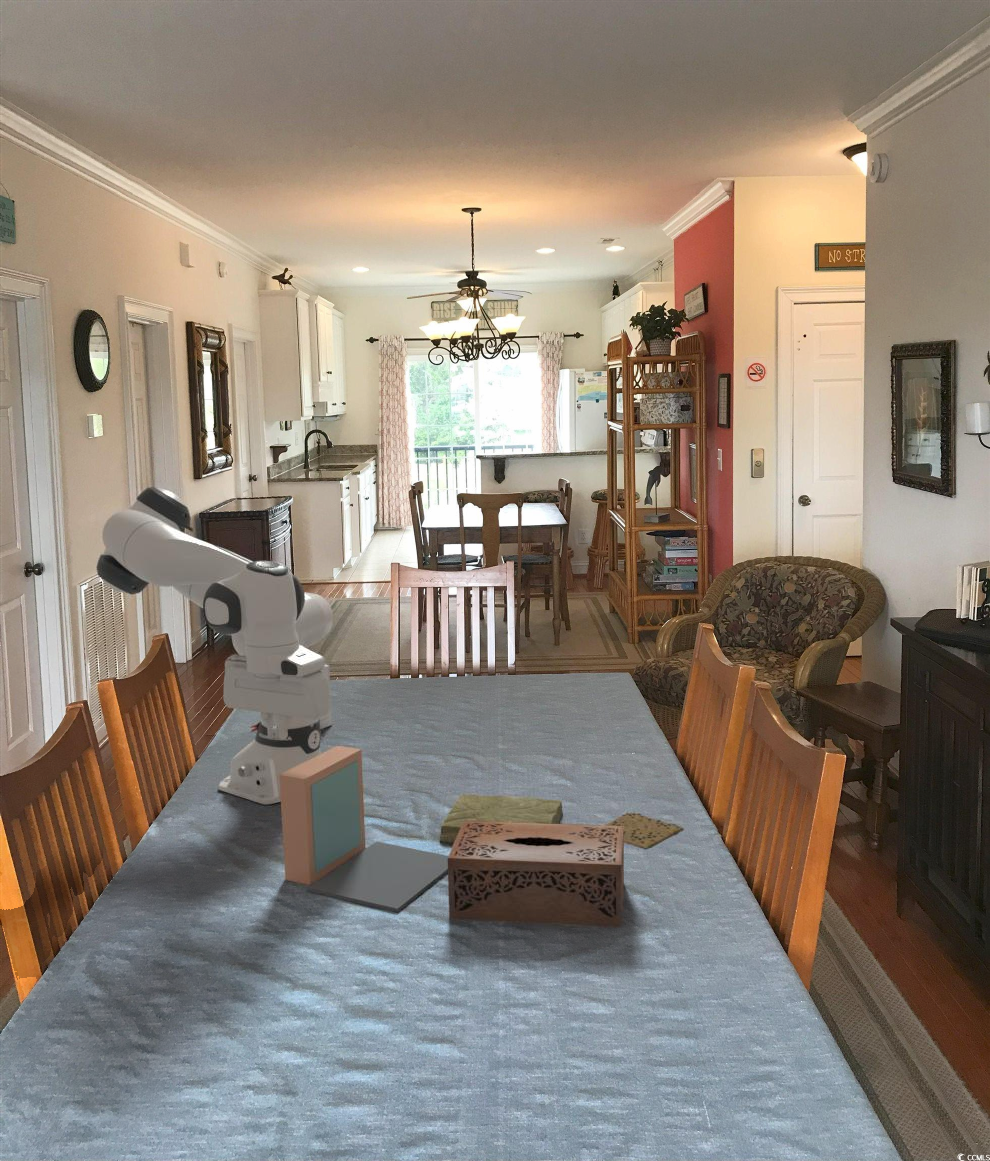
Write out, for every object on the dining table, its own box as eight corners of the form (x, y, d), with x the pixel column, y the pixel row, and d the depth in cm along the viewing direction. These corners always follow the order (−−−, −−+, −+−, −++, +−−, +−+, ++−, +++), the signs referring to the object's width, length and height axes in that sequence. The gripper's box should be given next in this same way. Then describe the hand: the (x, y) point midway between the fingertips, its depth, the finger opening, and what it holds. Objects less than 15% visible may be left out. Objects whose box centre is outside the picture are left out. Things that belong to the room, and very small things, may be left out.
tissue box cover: (449, 920, 164) (447, 858, 162) (465, 878, 178) (463, 820, 176) (621, 928, 160) (621, 865, 159) (623, 885, 174) (623, 826, 173)
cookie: (590, 834, 195) (590, 829, 195) (631, 814, 204) (631, 809, 204) (645, 852, 187) (645, 846, 187) (685, 830, 196) (685, 825, 195)
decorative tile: (459, 807, 209) (459, 790, 208) (563, 814, 205) (563, 796, 204) (434, 847, 191) (434, 828, 190) (547, 855, 187) (547, 835, 186)
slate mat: (307, 891, 174) (307, 887, 174) (376, 844, 191) (376, 841, 191) (397, 912, 166) (397, 908, 166) (461, 861, 184) (461, 858, 183)
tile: (285, 879, 178) (279, 774, 175) (341, 843, 192) (337, 745, 189) (311, 885, 176) (305, 779, 173) (366, 848, 190) (362, 749, 187)
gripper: (212, 657, 184) (217, 735, 187) (310, 668, 175) (314, 750, 177) (237, 649, 190) (242, 725, 192) (333, 659, 180) (337, 739, 183)
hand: (277, 737), depth 185 cm, fingers closed
